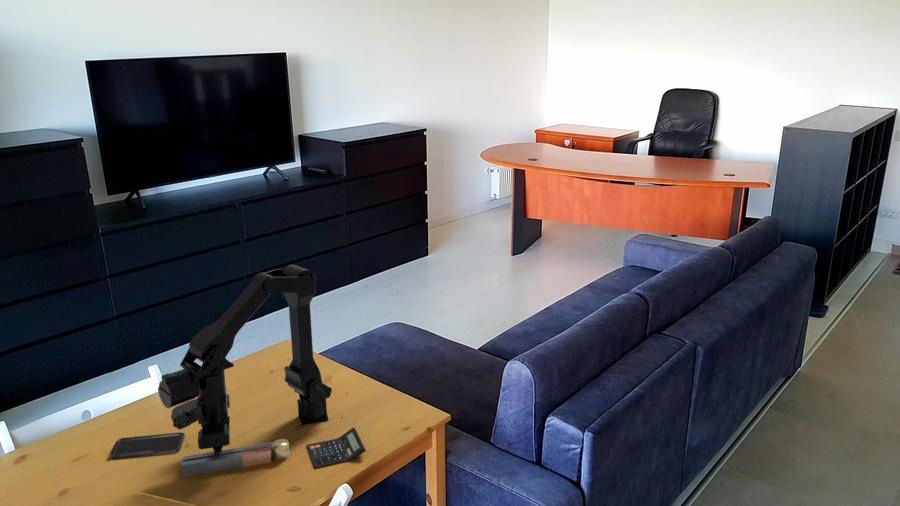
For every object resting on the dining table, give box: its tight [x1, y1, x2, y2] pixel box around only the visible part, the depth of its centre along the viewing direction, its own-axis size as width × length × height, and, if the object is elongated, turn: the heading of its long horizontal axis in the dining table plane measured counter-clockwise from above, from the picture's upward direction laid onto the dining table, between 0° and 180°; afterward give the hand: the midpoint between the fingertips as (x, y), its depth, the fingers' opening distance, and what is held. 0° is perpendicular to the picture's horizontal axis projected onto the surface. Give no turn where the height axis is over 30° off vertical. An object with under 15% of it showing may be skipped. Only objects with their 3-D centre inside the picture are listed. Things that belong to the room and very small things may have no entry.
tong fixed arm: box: [180, 447, 272, 478], centre depth 146 cm, size 18×2×3 cm, turn 108°
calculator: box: [306, 426, 367, 469], centre depth 152 cm, size 9×12×3 cm
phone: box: [109, 432, 185, 460], centre depth 154 cm, size 8×1×15 cm
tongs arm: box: [182, 438, 291, 462], centre depth 148 cm, size 22×4×3 cm, turn 107°
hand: (217, 453), depth 149 cm, fingers closed
